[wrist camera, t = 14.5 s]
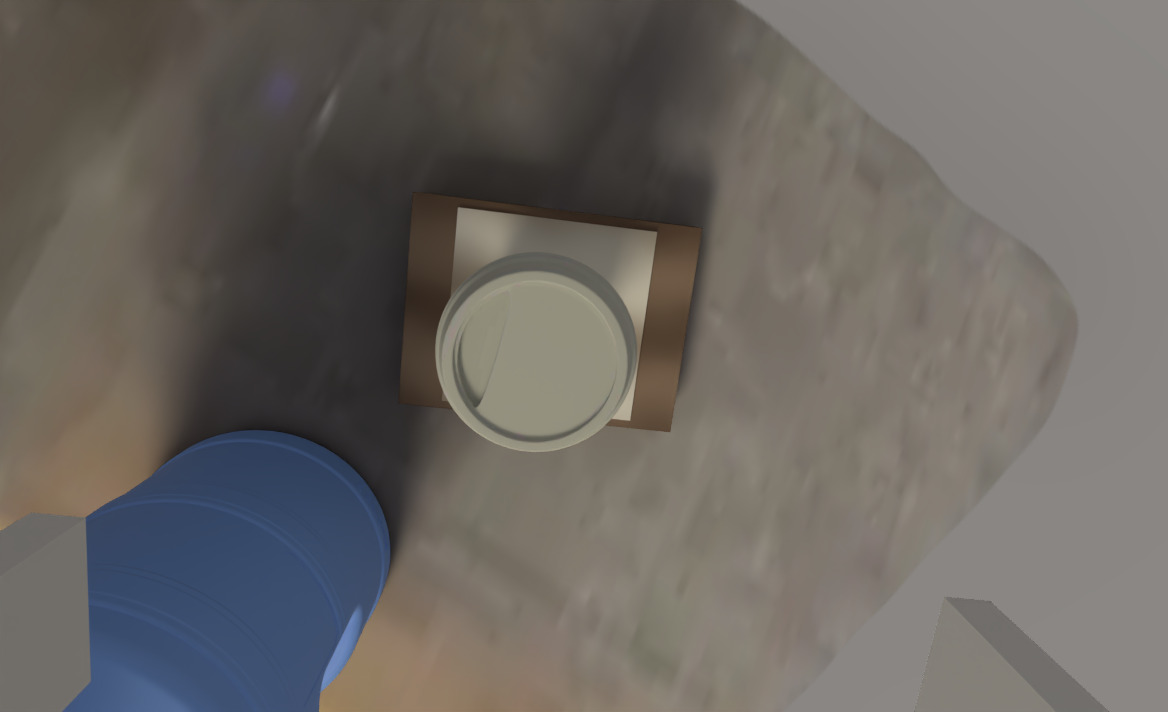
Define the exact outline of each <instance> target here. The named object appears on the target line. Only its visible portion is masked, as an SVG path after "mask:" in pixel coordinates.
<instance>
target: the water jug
mask: <svg viewBox="0 0 1168 712" xmlns="http://www.w3.org/2000/svg"><path fill="white" fill-rule="evenodd" d="M86 544H87V576H88V607H89V638H90V669H91V682H90V683H89V684H88V685H87V686H86V687H85V688H84V689H83V690H82V691H81V692H80V693H79V694H78V695H77V696H76V698H75V699H74V700H73V701H72V702H71V703H70V704H69V705H68V706H67V707H66V708H65V709H64V710H63V711H62V712H319V698H320V692H321V691H322V690H324V689H325V688H326V687H327V686H328V685H329V684H330V683H331V682H332V681H333V680H334V679H335V678H336V676H337V675H338V674H339V673H340V672H341V670H342V669H343V667H344V666H345V665H346V663H347V661H348V660H349V658H350V656H351V654H352V652H353V650H354V648H355V646H356V644H357V642H358V639H359V637H360V635H361V633H362V630H363V628H364V626H365V624H366V623H367V621H368V620H369V618H370V616H371V615H372V613H373V611H374V609H375V607H376V605H377V603H378V600H379V598H380V596H381V594H382V591H383V589H384V586H385V583H386V580H387V576H388V571H389V565H390V539H389V532H388V528H387V524H386V520H385V517H384V514H383V512H382V509H381V507H380V505H379V503H378V501H377V499H376V497H375V495H374V494H373V492H372V491H371V489H370V488H369V486H368V485H367V483H366V482H365V481H364V480H363V479H362V477H361V476H360V475H359V474H358V473H357V472H356V471H355V470H354V469H353V468H352V467H351V466H350V465H349V464H347V463H346V462H345V461H344V460H343V459H341V458H340V457H339V456H337V455H336V454H334V453H333V452H331V451H329V450H328V449H326V448H324V447H322V446H320V445H318V444H316V443H314V442H312V441H309V440H307V439H304V438H301V437H298V436H295V435H291V434H287V433H282V432H276V431H266V430H245V431H236V432H230V433H225V434H221V435H217V436H214V437H211V438H208V439H206V440H203V441H201V442H199V443H197V444H195V445H193V446H191V447H189V448H187V449H186V450H184V451H183V452H181V453H180V454H178V455H177V456H175V457H174V458H172V459H171V460H169V461H168V462H166V463H165V464H164V465H163V466H161V467H160V468H159V469H158V470H157V471H156V472H155V473H154V474H153V475H152V476H151V477H149V478H148V479H146V480H145V481H143V482H142V483H140V484H139V485H138V486H136V487H135V488H133V489H132V490H130V491H129V492H127V493H126V494H124V495H122V496H120V497H118V498H116V499H114V500H112V501H110V502H109V503H107V504H105V505H103V506H102V507H100V508H99V509H97V510H96V511H94V512H93V513H91V514H90V515H88V516H87V517H86Z"/></svg>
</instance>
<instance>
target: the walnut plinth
mask: <svg viewBox="0 0 1168 712" xmlns="http://www.w3.org/2000/svg"><path fill="white" fill-rule="evenodd" d="M701 233H702V228H698V227H693V226H685V225H677V224H669V223H661V222H653V221H645V220H637V219H629V218H621V217H613V216H605V215H597V214H589V213H581V212H573V211H565V210H557V209H549V208H541V207H533V206H525V205H517V204H509V203H502V202H494V201H486V200H478V199H470V198H462V197H454V196H446V195H438V194H430V193H420V192H413V199H412V214H411V228H410V243H409V257H408V272H407V286H406V301H405V315H404V329H403V344H402V358H401V373H400V387H399V402H398V403H399V404H409V405H418V406H428V407H437V408H447V409H453V408H452V406H451V405H450V403H449V402H448V400H447V398H446V396H445V394H444V392H443V389H442V387H441V384H440V381H439V377H438V373H437V368H436V357H435V345H436V335H437V330H438V326H439V322H440V319H441V316H442V314H443V311H444V309H445V307H446V305H447V303H448V301H449V300H450V298H451V297H452V295H453V294H454V292H455V291H456V290H457V288H458V287H459V286H460V285H461V284H462V283H463V282H464V281H465V280H466V279H467V278H468V277H469V276H470V275H472V274H473V273H474V272H476V271H477V270H478V269H480V268H482V267H483V266H485V265H487V264H489V263H491V262H493V261H495V260H497V259H500V258H503V257H506V256H509V255H514V254H519V253H527V252H544V253H552V254H557V255H562V256H565V257H568V258H571V259H574V260H576V261H578V262H581V263H583V264H584V265H586V266H588V267H590V268H591V269H593V270H594V271H596V272H597V273H598V274H600V275H601V276H602V277H603V278H604V279H605V280H607V281H608V282H609V283H610V284H611V286H612V287H613V288H614V289H615V290H616V292H617V293H618V294H619V296H620V297H621V299H622V300H623V302H624V304H625V305H626V307H627V309H628V311H629V314H630V316H631V319H632V322H633V325H634V329H635V334H636V340H637V363H636V369H635V374H634V378H633V381H632V384H631V387H630V389H629V392H628V394H627V396H626V398H625V400H624V402H623V404H622V405H621V407H620V408H619V410H618V411H617V413H616V414H615V415H614V416H613V417H612V419H611V420H610V421H609V422H608V423H607V424H606V425H607V426H617V427H626V428H636V429H645V430H655V431H664V432H670V430H671V424H672V417H673V411H674V405H675V398H676V392H677V386H678V379H679V373H680V367H681V360H682V354H683V347H684V341H685V335H686V328H687V322H688V316H689V309H690V303H691V297H692V290H693V284H694V278H695V271H696V265H697V258H698V252H699V246H700V239H701Z"/></svg>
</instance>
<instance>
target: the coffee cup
mask: <svg viewBox="0 0 1168 712" xmlns="http://www.w3.org/2000/svg"><path fill="white" fill-rule="evenodd" d="M435 357H436V368H437V373H438V377H439V381H440V384H441V387H442V389H443V392H444V394H445V396H446V398H447V400H448V402H449V403H450V405H451V406H452V408H453V409H454V411H455V412H456V413H457V415H458V416H459V417H460V418H461V419H462V420H463V421H464V422H465V423H466V424H467V425H468V426H469V427H470V428H471V429H473V430H474V431H475V432H477V433H478V434H479V435H481V436H483V437H484V438H486V439H488V440H490V441H492V442H494V443H496V444H498V445H501V446H504V447H507V448H510V449H515V450H520V451H529V452H544V451H553V450H558V449H562V448H566V447H569V446H572V445H575V444H577V443H579V442H581V441H583V440H585V439H587V438H589V437H590V436H592V435H593V434H595V433H596V432H598V431H599V430H600V429H601V428H603V427H604V426H605V425H606V424H607V423H608V422H609V421H610V420H611V419H612V417H613V416H614V415H615V414H616V413H617V411H618V410H619V408H620V407H621V405H622V404H623V402H624V400H625V398H626V396H627V394H628V392H629V389H630V387H631V384H632V381H633V378H634V374H635V369H636V363H637V340H636V334H635V329H634V325H633V322H632V319H631V316H630V314H629V311H628V309H627V307H626V305H625V304H624V302H623V300H622V299H621V297H620V296H619V294H618V293H617V292H616V290H615V289H614V288H613V287H612V286H611V284H610V283H609V282H608V281H607V280H605V279H604V278H603V277H602V276H601V275H600V274H598V273H597V272H596V271H594V270H593V269H591V268H590V267H588V266H586V265H584V264H583V263H581V262H578V261H576V260H574V259H571V258H568V257H565V256H562V255H557V254H552V253H544V252H527V253H519V254H514V255H509V256H506V257H503V258H500V259H497V260H495V261H493V262H491V263H489V264H487V265H485V266H483V267H482V268H480V269H478V270H477V271H476V272H474V273H473V274H472V275H470V276H469V277H468V278H467V279H466V280H465V281H464V282H463V283H462V284H461V285H460V286H459V287H458V288H457V290H456V291H455V292H454V294H453V295H452V297H451V298H450V300H449V301H448V303H447V305H446V307H445V309H444V311H443V314H442V316H441V319H440V322H439V326H438V330H437V335H436V345H435Z"/></svg>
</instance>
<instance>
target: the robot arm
mask: <svg viewBox="0 0 1168 712" xmlns="http://www.w3.org/2000/svg"><path fill="white" fill-rule="evenodd" d="M90 682H91V669H90V638H89V607H88V576H87V544H86V518H83V517H72V516H61V515H51V514H40V513H30V514H28V515H26V516H25V517H23V518H21V519H20V520H18V521H16V522H15V523H13V524H11V525H10V526H8V527H7V528H5V529H3V530H2V531H0V712H62V711H63V710H64V709H65V708H66V707H67V706H68V705H69V704H70V703H71V702H72V701H73V700H74V699H75V698H76V696H77V695H78V694H79V693H80V692H81V691H82V690H83V689H84V688H85V687H86V686H87V685H88V684H89V683H90ZM914 712H1109V711H1108V710H1107V709H1106V708H1105V707H1104V706H1103V705H1101V704H1100V703H1099V702H1098V701H1097V700H1096V699H1095V698H1094V697H1093V696H1091V694H1090V693H1089V692H1087V691H1086V690H1085V689H1084V688H1083V687H1082V686H1081V685H1080V684H1079V683H1078V682H1077V681H1076V680H1075V679H1073V678H1072V677H1071V676H1070V675H1069V674H1068V673H1067V672H1066V671H1065V670H1064V669H1063V668H1061V667H1060V666H1059V665H1058V664H1057V663H1056V662H1055V661H1054V660H1053V659H1052V658H1051V657H1050V656H1048V655H1047V653H1045V652H1044V651H1043V650H1042V649H1041V648H1040V647H1039V646H1038V645H1037V644H1036V643H1035V642H1034V641H1032V640H1031V639H1030V638H1029V637H1028V636H1027V635H1026V634H1025V633H1024V632H1023V631H1022V630H1021V629H1020V628H1019V627H1017V626H1016V625H1015V624H1014V623H1013V622H1012V621H1011V620H1010V619H1009V618H1008V617H1007V616H1005V615H1004V614H1003V613H1002V612H1001V611H1000V610H999V609H998V608H997V607H996V606H995V605H994V604H993V603H992V602H991V601H984V600H973V599H962V598H951V597H944V599H943V603H942V607H941V611H940V615H939V619H938V623H937V626H936V630H935V634H934V638H933V642H932V646H931V649H930V653H929V657H928V661H927V665H926V669H925V672H924V676H923V680H922V684H921V688H920V692H919V696H918V699H917V703H916V707H915V711H914Z"/></svg>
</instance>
